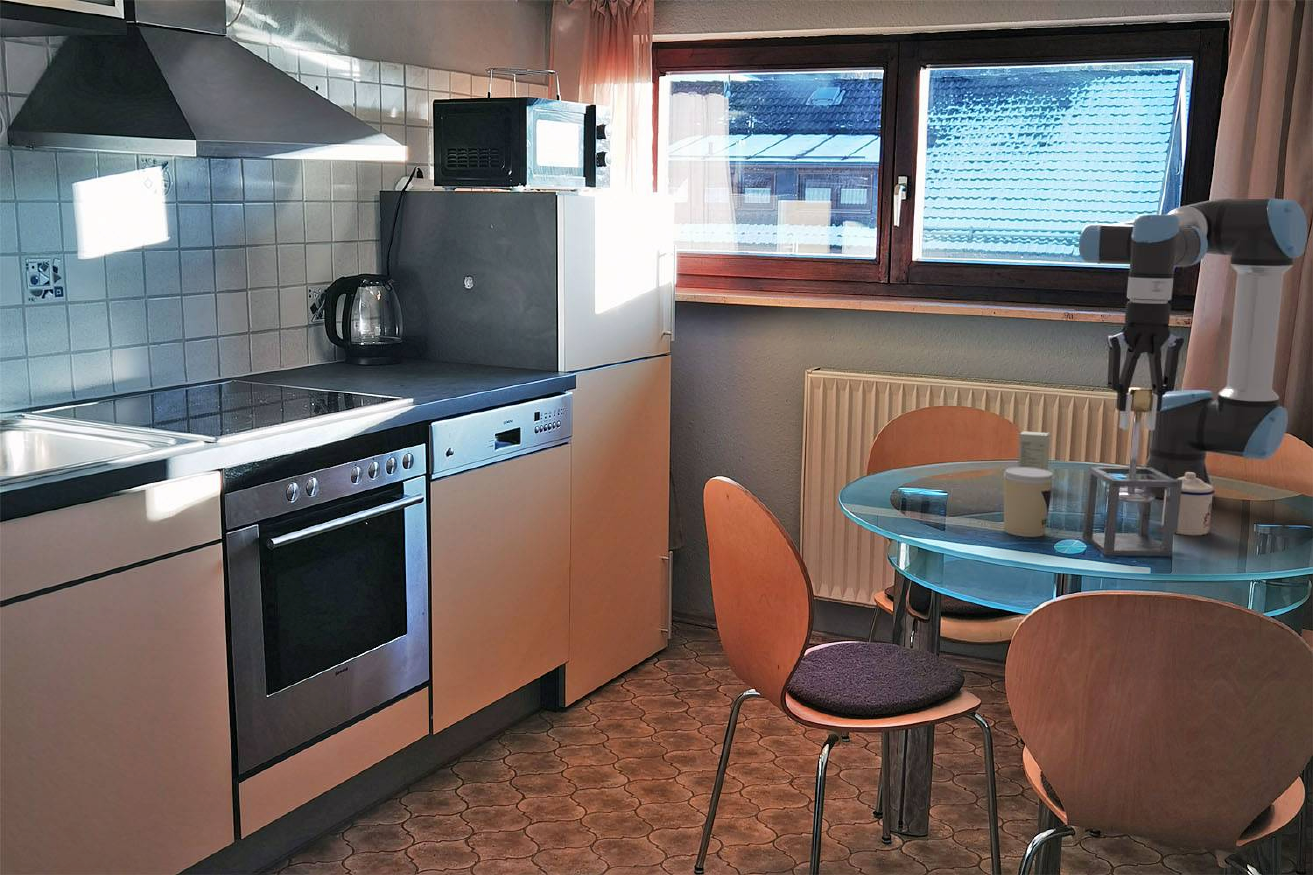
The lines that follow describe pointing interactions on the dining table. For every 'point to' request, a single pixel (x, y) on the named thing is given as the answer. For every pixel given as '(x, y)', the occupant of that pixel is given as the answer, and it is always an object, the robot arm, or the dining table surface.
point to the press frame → (1140, 541)
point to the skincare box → (1033, 450)
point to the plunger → (1137, 445)
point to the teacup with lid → (1193, 506)
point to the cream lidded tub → (1026, 500)
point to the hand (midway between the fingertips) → (1136, 428)
